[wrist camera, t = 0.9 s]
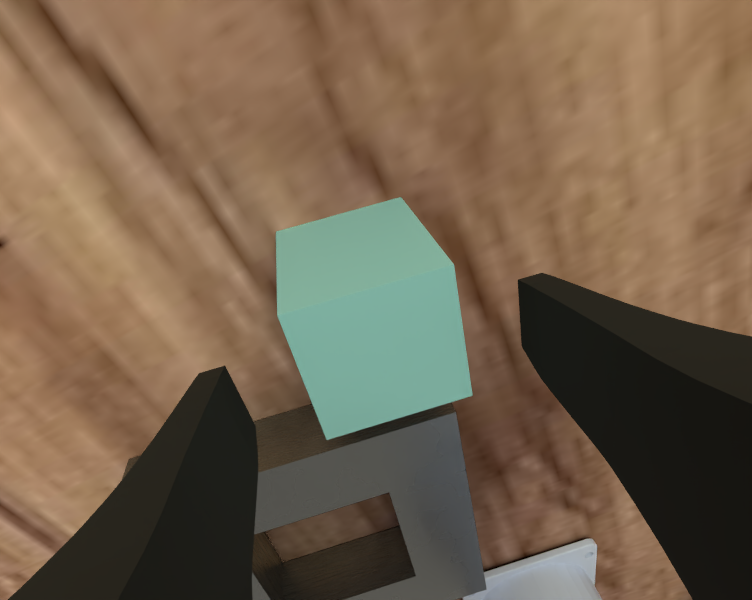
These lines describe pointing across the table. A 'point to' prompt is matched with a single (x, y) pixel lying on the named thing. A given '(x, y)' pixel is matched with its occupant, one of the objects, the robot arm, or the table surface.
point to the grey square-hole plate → (360, 482)
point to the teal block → (371, 316)
